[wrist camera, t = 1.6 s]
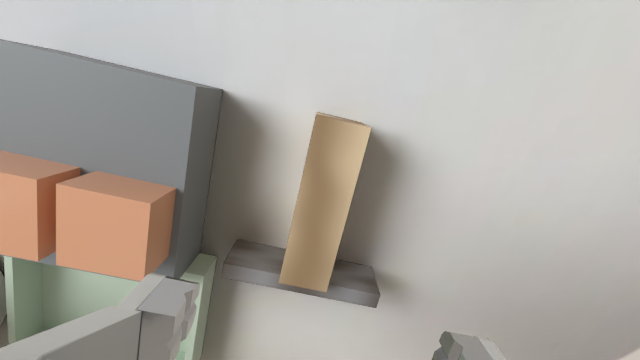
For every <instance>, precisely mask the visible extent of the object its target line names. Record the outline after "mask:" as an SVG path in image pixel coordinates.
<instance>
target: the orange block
mask: <svg viewBox="0 0 640 360" xmlns="http://www.w3.org/2000/svg"><path fill="white" fill-rule="evenodd" d="M80 168H81V167H77V166H72V165H67V164H63V163H58V162H53V161H49V160H44V159H39V158H35V157H30V156H25V155H21V154H16V153H11V152H7V151H2V150H0V254H1V255H6V256H12V257H17V258H22V259H27V260H32V261H40V260H42V259H43V258H45V257H47V256H49V255H50V254H52V253H54V252H56V184H57V183H60V182H63V181H66V180H69V179H73V178H76V177H79V176H80Z"/></svg>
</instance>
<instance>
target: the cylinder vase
mask: <svg viewBox="0 0 640 360" xmlns="http://www.w3.org/2000/svg"><path fill="white" fill-rule="evenodd" d="M6 313H7V309H6V289H5V278H4V276H3V274H2V272H1V270H0V325H1V324H2V322H3V320H4V318H5V316H6Z"/></svg>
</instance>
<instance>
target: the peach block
mask: <svg viewBox="0 0 640 360" xmlns="http://www.w3.org/2000/svg"><path fill="white" fill-rule="evenodd" d="M175 195H176V188H175V187H170V186H165V185H161V184H156V183H151V182H147V181H142V180H137V179H133V178H128V177H123V176H119V175H114V174H109V173H105V172H100V171H95V172H91V173H88V174H85V175H82V176H79V177H76V178H73V179H69V180H66V181H63V182H60V183H57V184H56V265H58V266H64V267H69V268H74V269H79V270H84V271H90V272H95V273H100V274H105V275H110V276H116V277H121V278H126V279H131V280H136V281H141V280H142V279H143V278H144V277H145V276H146V275H148V274H150V273H153V272H154V271H155V270H156V269H157V268H158V267H159V266H160V264H161V263H162V262H163V261H164V260H165V259H166V258H167V257H168V256H169V249H170V240H171V231H172V222H173V213H174V204H175Z"/></svg>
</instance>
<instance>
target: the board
mask: <svg viewBox="0 0 640 360" xmlns="http://www.w3.org/2000/svg"><path fill="white" fill-rule="evenodd" d="M222 91H223V89H218V88H214V87H210V86H206V85H202V84H197V83H193V82H189V81H185V80H181V79H176V78H172V77H168V76H164V75H160V74H155V73H151V72H147V71H143V70H139V69H134V68H130V67H126V66H122V65H118V64H113V63H109V62H105V61H101V60H97V59H92V58H88V57H84V56H80V55H76V54H71V53H67V52H63V51H59V50H54V49H48V48H43V47H38V46H33V45H28V44H22V43H17V42H12V41H7V40H2V39H0V150H2V151H7V152H11V153H16V154H21V155H25V156H30V157H35V158H39V159H44V160H49V161H53V162H58V163H63V164H67V165H72V166H77V167H81V168H80V176H82V175H85V174H88V173H91V172H95V171H100V172H105V173H109V174H114V175H119V176H123V177H128V178H133V179H137V180H142V181H147V182H151V183H156V184H161V185H165V186H170V187H175V188H176V195H175V204H174V213H173V222H172V231H171V240H170V249H169V256H168V257H167V258H166V259H165V260H164V261H163V262H162V263H161V264H160V266H159V267H158V268H157V269H156V270H155V271H154V272H153V273H155V274H160V275H165V276H170V277H174V278H179V279H180V278H181V277H182V275H183V274H184V273H185V271H186V270H187V269H188V268H189V266H190V265H191V264H192V262H193V261H194V260H195V258H196V257H197V256H198V255H199V253H200V248H201V241H202V234H203V227H204V220H205V212H206V205H207V198H208V191H209V184H210V177H211V170H212V163H213V155H214V148H215V141H216V134H217V127H218V120H219V113H220V106H221V98H222ZM0 255H1V254H0ZM2 256H6V255H2ZM7 257H12V256H7ZM13 258H17V257H13ZM18 259H22V258H18ZM23 260H27V259H23ZM28 261H32V260H28ZM33 262H39V263H44V264H49V265H54V266H58V265H56V252H54V253H52V254H50V255H49V256H47V257H45V258H43V259H42V260H40V261H33ZM59 267H64V266H59ZM65 268H69V267H65ZM70 269H74V268H70ZM75 270H79V269H75ZM80 271H84V270H80ZM85 272H90V271H85ZM91 273H95V272H91ZM96 274H100V273H96ZM101 275H105V274H101ZM106 276H110V275H106ZM111 277H116V276H111ZM117 278H121V277H117ZM122 279H126V278H122ZM127 280H131V279H127ZM132 281H136V280H132ZM138 282H140V281H138Z"/></svg>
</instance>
